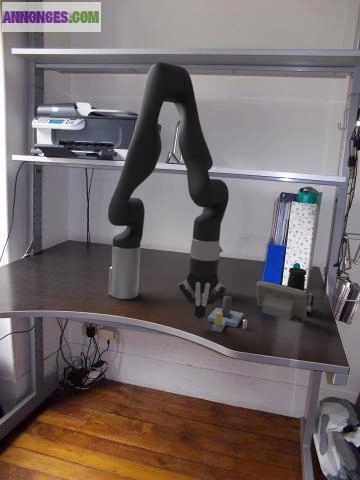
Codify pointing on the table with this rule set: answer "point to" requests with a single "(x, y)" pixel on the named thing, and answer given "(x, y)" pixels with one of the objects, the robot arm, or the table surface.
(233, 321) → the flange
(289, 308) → the digital clock
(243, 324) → the dowel
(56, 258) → the table surface
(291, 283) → the scope
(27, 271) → the table surface
